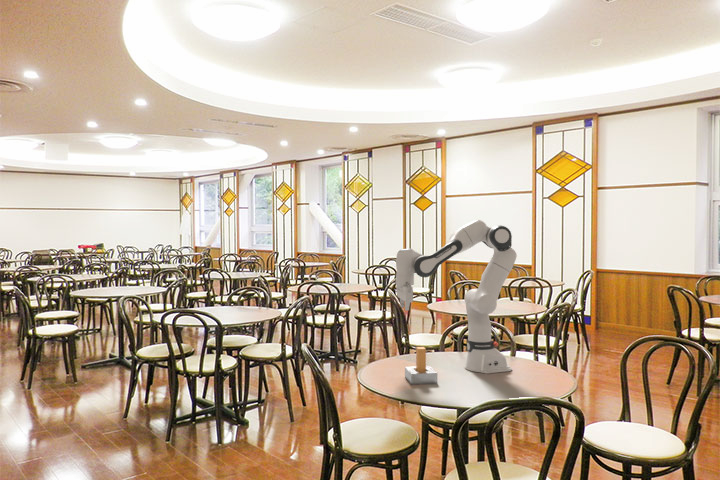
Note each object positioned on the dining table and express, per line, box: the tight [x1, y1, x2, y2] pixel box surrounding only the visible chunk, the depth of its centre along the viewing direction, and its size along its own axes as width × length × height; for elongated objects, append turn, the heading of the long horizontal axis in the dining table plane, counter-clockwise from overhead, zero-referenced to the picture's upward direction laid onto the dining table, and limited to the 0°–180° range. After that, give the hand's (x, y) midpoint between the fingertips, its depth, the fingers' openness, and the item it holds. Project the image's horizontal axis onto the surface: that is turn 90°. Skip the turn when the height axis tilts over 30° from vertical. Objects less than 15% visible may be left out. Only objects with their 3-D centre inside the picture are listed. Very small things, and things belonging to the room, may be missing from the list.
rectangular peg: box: [415, 346, 427, 372], centre depth 240 cm, size 4×4×14 cm
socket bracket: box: [404, 365, 438, 386], centre depth 240 cm, size 12×12×5 cm
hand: (404, 308), depth 262 cm, fingers open, 8 cm apart
